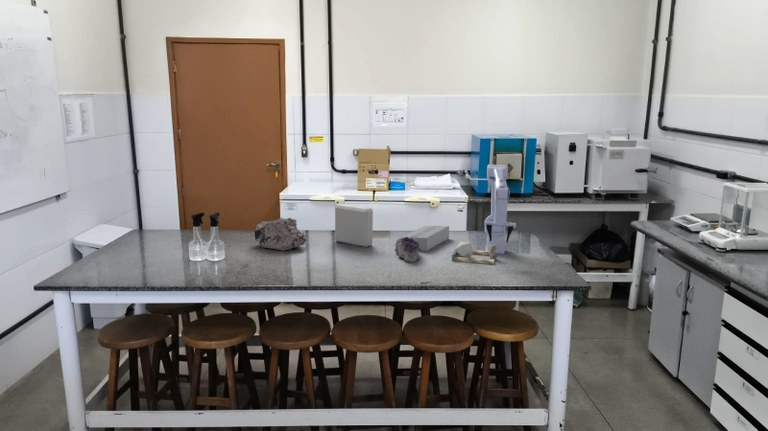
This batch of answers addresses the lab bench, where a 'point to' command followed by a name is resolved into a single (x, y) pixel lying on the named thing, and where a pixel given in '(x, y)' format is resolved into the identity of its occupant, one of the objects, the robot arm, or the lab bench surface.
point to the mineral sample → (279, 234)
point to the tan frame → (474, 260)
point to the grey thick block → (353, 225)
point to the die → (464, 250)
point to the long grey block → (429, 236)
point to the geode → (407, 249)
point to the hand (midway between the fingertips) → (498, 241)
